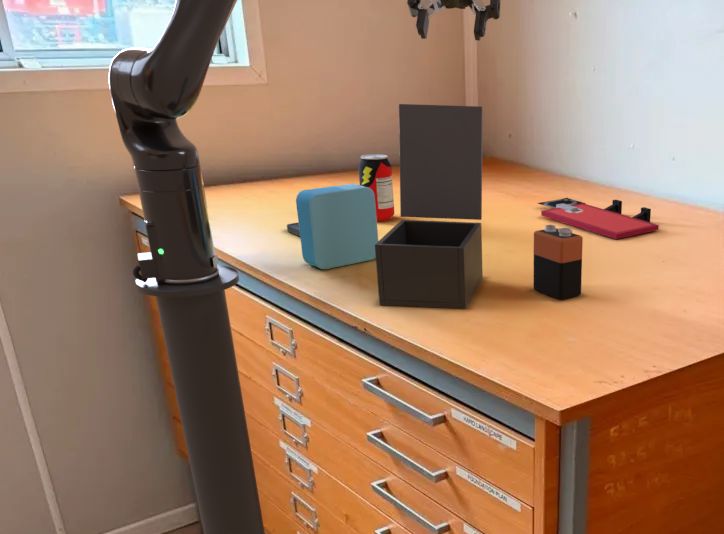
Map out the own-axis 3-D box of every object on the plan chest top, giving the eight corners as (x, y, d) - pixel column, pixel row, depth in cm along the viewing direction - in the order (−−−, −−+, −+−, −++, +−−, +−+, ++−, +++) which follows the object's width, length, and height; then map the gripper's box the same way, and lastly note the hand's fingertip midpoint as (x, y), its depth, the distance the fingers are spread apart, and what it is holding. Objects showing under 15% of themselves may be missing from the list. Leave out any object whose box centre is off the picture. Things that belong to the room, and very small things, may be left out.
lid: (481, 106, 130) (482, 107, 131) (398, 103, 131) (400, 104, 132) (480, 219, 135) (481, 219, 135) (400, 216, 135) (401, 216, 136)
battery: (560, 301, 129) (561, 233, 125) (531, 290, 134) (532, 224, 129) (582, 295, 132) (584, 229, 127) (553, 285, 137) (554, 221, 132)
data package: (365, 253, 151) (359, 182, 145) (380, 258, 148) (374, 186, 143) (303, 265, 143) (294, 191, 138) (317, 271, 140) (308, 195, 135)
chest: (465, 308, 125) (463, 248, 121) (379, 305, 126) (374, 244, 122) (482, 278, 139) (481, 222, 135) (404, 274, 140) (401, 219, 136)
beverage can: (387, 214, 178) (382, 152, 173) (399, 220, 173) (395, 157, 168) (357, 217, 175) (352, 154, 169) (369, 223, 170) (364, 159, 165)
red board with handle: (573, 201, 192) (519, 210, 183) (573, 187, 190) (518, 197, 182) (671, 229, 172) (616, 241, 163) (672, 214, 170) (616, 226, 162)
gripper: (413, -69, 136) (398, 16, 132) (503, -67, 135) (491, 18, 131) (423, -30, 143) (410, 52, 139) (508, -28, 142) (498, 54, 138)
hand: (449, 35), depth 135 cm, fingers open, 8 cm apart
